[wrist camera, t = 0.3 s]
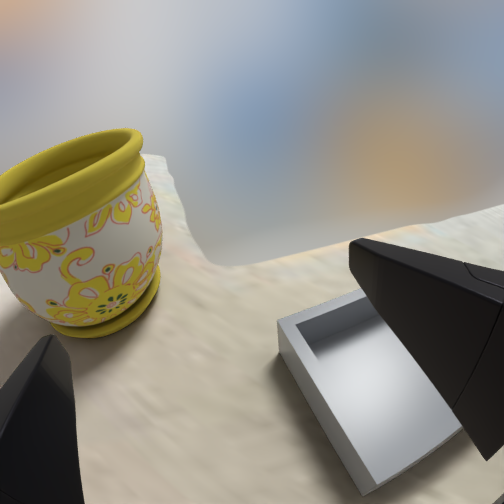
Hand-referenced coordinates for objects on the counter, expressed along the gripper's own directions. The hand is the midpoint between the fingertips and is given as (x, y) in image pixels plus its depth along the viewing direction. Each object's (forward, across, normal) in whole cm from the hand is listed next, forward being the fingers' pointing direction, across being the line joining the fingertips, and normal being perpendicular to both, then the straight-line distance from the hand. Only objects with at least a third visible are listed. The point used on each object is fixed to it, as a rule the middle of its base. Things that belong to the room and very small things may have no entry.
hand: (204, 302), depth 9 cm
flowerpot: (+24, +11, +14) cm, 30 cm away
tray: (+4, -12, +16) cm, 20 cm away
